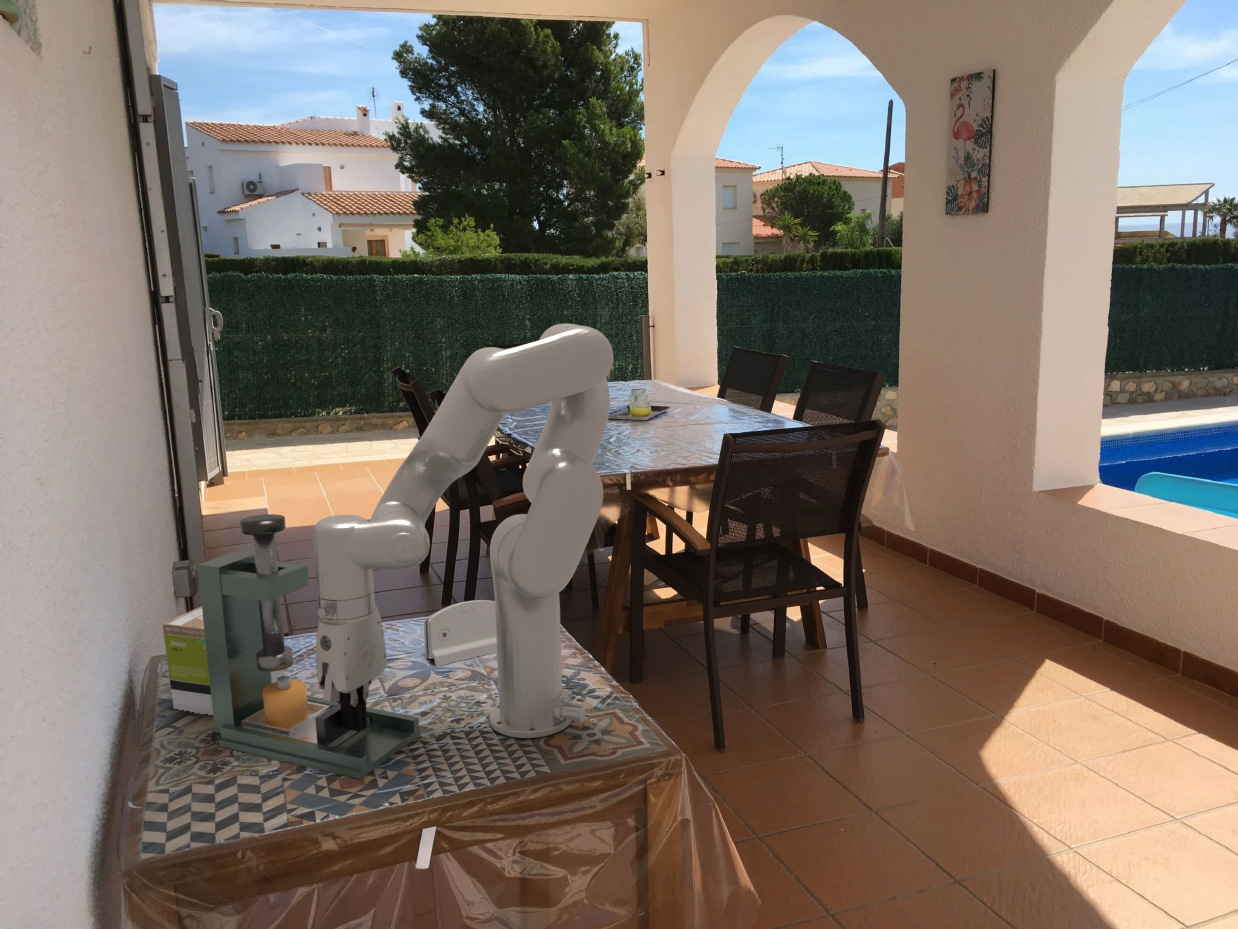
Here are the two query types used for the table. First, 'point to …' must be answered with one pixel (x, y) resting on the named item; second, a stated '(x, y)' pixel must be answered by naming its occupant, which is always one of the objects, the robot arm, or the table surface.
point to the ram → (266, 563)
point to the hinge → (461, 632)
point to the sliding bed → (308, 725)
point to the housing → (285, 702)
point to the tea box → (191, 663)
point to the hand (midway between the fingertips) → (354, 727)
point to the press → (240, 683)
